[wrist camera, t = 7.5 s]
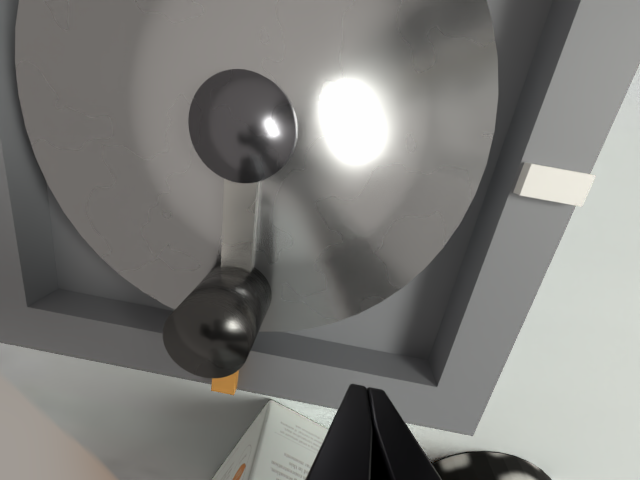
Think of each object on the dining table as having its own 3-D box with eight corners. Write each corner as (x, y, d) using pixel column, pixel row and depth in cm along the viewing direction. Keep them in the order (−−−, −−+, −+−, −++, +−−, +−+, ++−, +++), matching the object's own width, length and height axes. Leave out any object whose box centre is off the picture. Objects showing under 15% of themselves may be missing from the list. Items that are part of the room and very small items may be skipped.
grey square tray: (-31, -299, 10) (-220, -508, 6) (670, -187, 9) (841, -352, 6) (48, 302, 16) (-25, 345, 13) (451, 380, 16) (476, 445, 13)
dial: (24, -181, 9) (-238, -424, 5) (547, -118, 9) (722, -329, 5) (81, 280, 14) (-29, 345, 10) (419, 335, 13) (448, 427, 9)
